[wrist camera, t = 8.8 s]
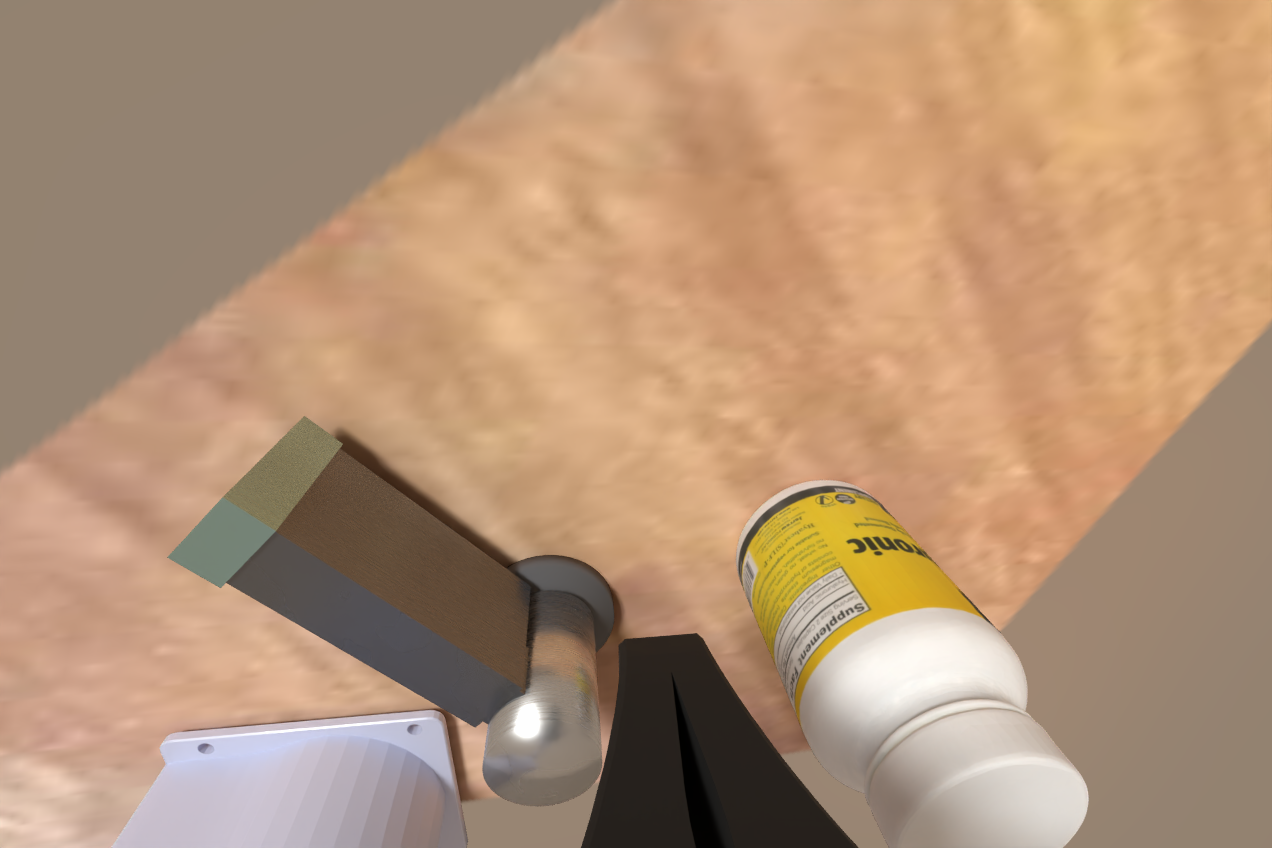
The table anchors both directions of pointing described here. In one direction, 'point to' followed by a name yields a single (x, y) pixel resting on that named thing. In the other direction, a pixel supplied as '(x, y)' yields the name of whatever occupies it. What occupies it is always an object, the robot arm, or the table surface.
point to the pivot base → (571, 587)
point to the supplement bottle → (901, 678)
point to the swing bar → (413, 608)
